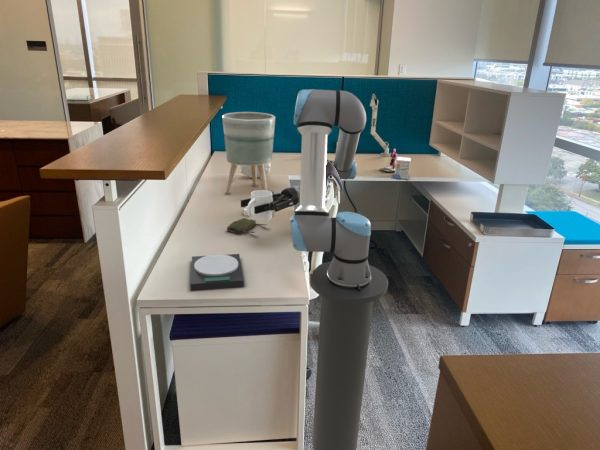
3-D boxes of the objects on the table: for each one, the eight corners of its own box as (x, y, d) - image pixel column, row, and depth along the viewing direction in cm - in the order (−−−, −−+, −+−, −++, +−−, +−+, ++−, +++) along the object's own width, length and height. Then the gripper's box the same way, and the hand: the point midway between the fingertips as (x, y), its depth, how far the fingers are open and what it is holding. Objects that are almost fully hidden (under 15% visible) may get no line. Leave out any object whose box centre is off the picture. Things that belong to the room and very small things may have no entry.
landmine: (241, 215, 199) (270, 222, 193) (241, 221, 200) (270, 227, 194) (222, 225, 187) (253, 233, 181) (223, 231, 188) (253, 239, 182)
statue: (391, 170, 295) (395, 147, 291) (400, 173, 287) (405, 150, 283) (378, 169, 290) (382, 146, 285) (386, 173, 282) (391, 149, 278)
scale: (243, 286, 147) (243, 278, 146) (190, 290, 143) (190, 281, 142) (239, 259, 165) (239, 251, 164) (192, 262, 161) (191, 254, 160)
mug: (255, 226, 167) (255, 200, 163) (239, 220, 172) (239, 195, 168) (276, 217, 176) (276, 193, 172) (261, 212, 180) (261, 188, 176)
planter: (276, 199, 228) (278, 120, 213) (224, 200, 224) (222, 119, 209) (271, 184, 253) (272, 112, 237) (224, 185, 249) (222, 111, 233)
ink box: (394, 178, 273) (396, 159, 269) (394, 174, 281) (396, 156, 277) (408, 179, 272) (410, 160, 267) (408, 175, 279) (410, 157, 275)
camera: (240, 175, 268) (239, 149, 262) (269, 175, 270) (270, 149, 264) (240, 180, 258) (239, 153, 252) (271, 180, 260) (271, 153, 254)
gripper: (310, 211, 177) (264, 224, 163) (277, 198, 192) (232, 208, 177) (311, 193, 174) (264, 205, 160) (277, 181, 189) (232, 190, 175)
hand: (248, 207), depth 169 cm, fingers closed on mug, 8 cm apart
